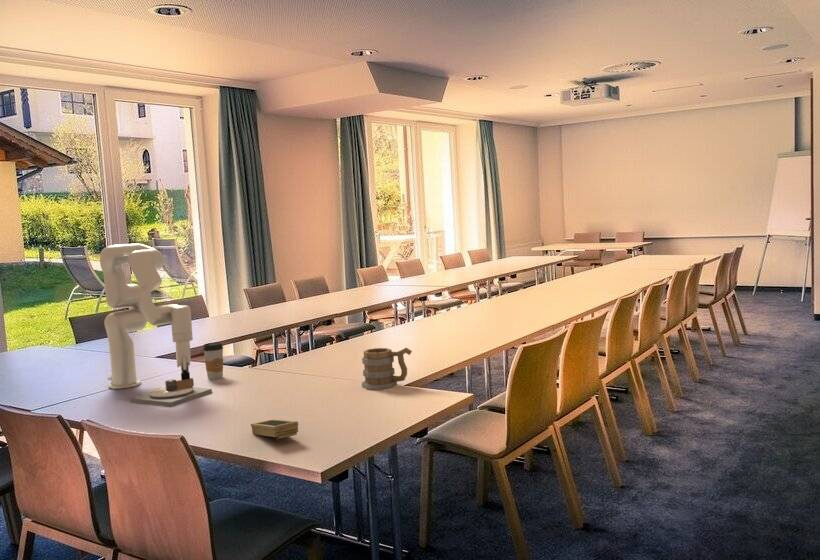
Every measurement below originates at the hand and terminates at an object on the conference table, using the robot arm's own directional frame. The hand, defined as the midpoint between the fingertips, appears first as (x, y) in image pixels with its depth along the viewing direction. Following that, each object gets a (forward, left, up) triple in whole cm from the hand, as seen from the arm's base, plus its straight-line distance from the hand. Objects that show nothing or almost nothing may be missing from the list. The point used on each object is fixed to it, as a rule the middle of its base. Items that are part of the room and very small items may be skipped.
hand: (186, 382), depth 273 cm
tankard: (+74, +32, -4) cm, 80 cm away
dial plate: (-1, -7, -4) cm, 8 cm away
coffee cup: (-8, +24, -4) cm, 26 cm away
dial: (-1, -7, -2) cm, 7 cm away
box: (+71, -34, -4) cm, 78 cm away
